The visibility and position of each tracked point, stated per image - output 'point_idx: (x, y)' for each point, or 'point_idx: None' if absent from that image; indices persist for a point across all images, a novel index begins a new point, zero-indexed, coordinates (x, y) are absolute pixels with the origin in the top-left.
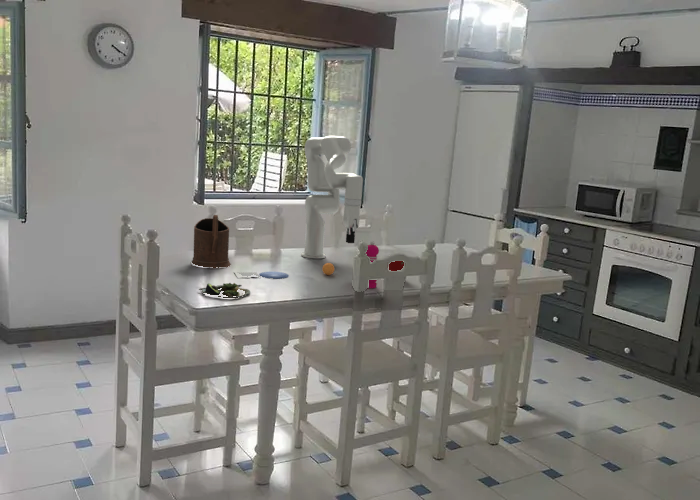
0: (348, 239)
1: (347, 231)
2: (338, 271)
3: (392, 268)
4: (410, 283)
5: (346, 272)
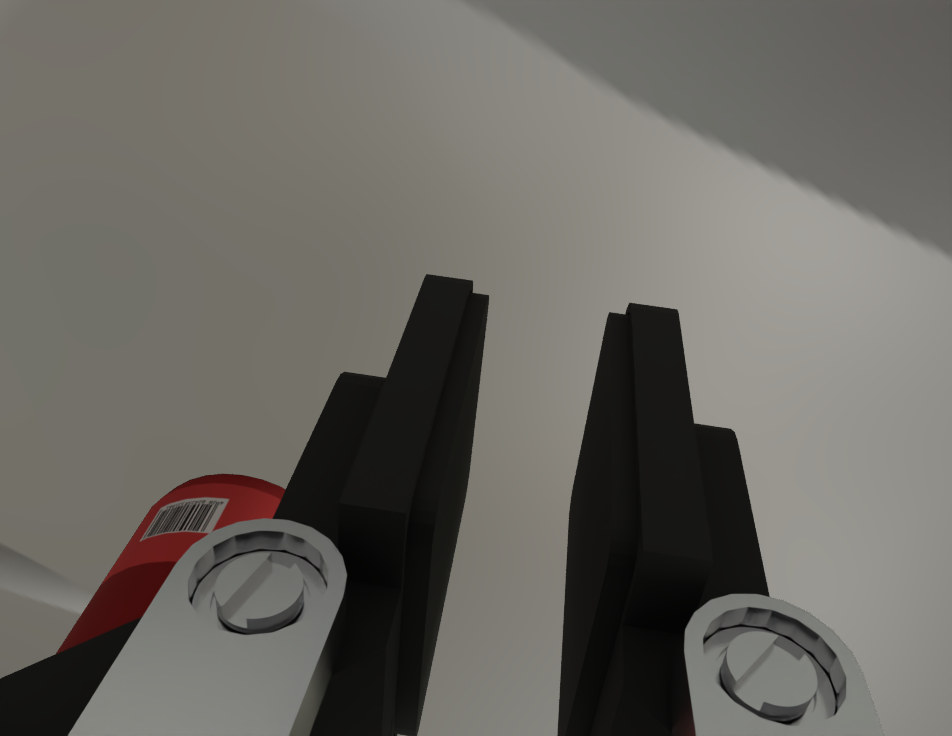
0: (396, 365)
1: (684, 706)
2: (860, 5)
3: (103, 595)
4: (84, 590)
5: (739, 125)
